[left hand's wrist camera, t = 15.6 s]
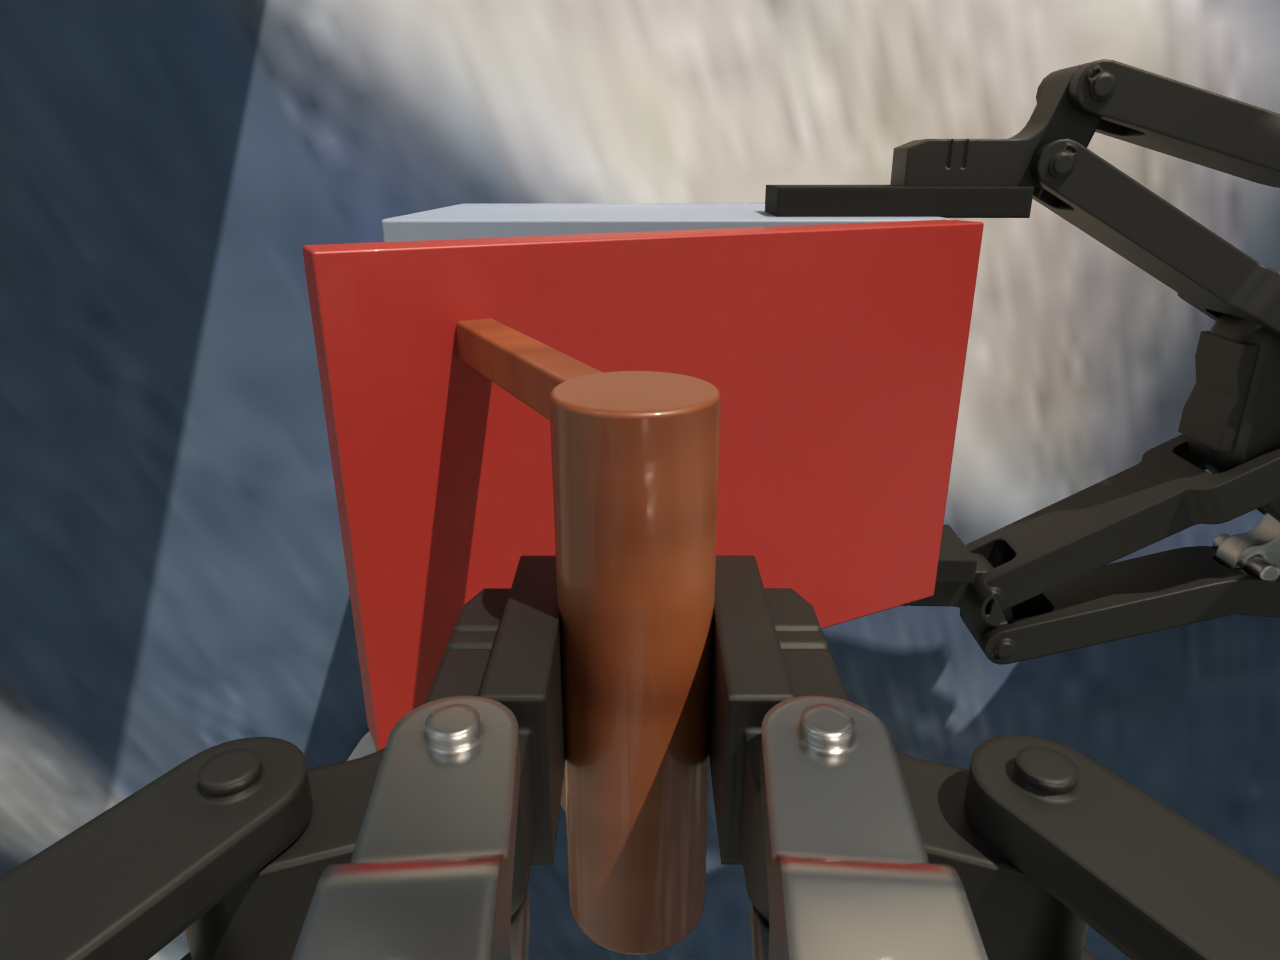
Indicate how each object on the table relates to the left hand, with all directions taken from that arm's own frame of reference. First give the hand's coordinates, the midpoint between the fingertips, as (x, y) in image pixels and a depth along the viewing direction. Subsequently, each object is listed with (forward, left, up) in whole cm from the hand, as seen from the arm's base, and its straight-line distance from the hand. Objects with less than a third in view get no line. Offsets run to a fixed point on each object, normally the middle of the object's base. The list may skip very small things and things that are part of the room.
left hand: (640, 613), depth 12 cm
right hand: (-2, +2, -13) cm, 14 cm away
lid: (-1, 0, -7) cm, 7 cm away
